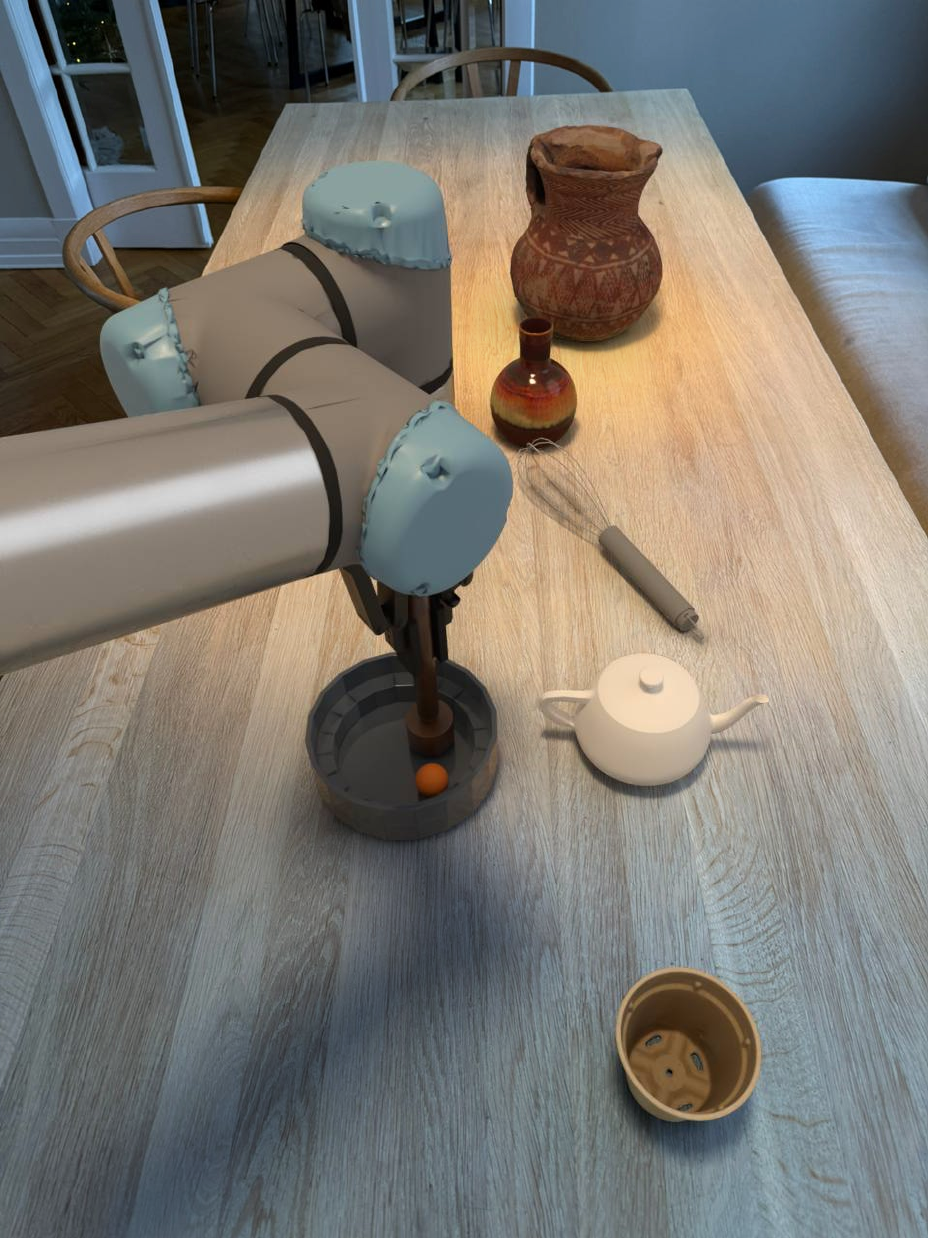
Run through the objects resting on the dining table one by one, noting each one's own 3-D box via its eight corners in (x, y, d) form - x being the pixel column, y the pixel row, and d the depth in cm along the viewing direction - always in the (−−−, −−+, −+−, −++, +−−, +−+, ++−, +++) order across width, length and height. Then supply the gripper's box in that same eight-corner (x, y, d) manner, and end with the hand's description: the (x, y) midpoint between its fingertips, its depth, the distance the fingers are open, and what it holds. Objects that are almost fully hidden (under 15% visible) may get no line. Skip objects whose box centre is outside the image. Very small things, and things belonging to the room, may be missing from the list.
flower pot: (761, 1076, 64) (791, 1039, 58) (683, 1182, 60) (705, 1156, 53) (657, 982, 69) (673, 938, 62) (577, 1075, 64) (586, 1039, 58)
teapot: (743, 695, 87) (766, 627, 79) (759, 806, 79) (787, 742, 71) (539, 684, 88) (543, 616, 81) (535, 792, 80) (538, 728, 73)
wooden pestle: (425, 764, 81) (407, 609, 65) (398, 732, 83) (374, 576, 67) (463, 739, 82) (455, 583, 67) (436, 709, 85) (421, 551, 69)
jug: (671, 300, 138) (697, 127, 119) (631, 370, 125) (654, 189, 107) (538, 276, 144) (544, 108, 126) (488, 340, 132) (486, 164, 113)
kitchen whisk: (678, 656, 90) (688, 615, 86) (506, 479, 110) (506, 437, 106) (725, 633, 92) (737, 591, 87) (547, 463, 112) (549, 421, 107)
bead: (429, 809, 78) (426, 792, 76) (409, 786, 80) (407, 768, 78) (456, 791, 80) (454, 773, 77) (436, 768, 81) (434, 751, 79)
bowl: (380, 881, 75) (373, 848, 70) (283, 748, 84) (271, 711, 80) (534, 775, 81) (536, 738, 77) (428, 662, 91) (424, 624, 86)
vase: (587, 419, 118) (597, 312, 106) (554, 466, 111) (560, 358, 100) (512, 399, 121) (513, 294, 110) (476, 444, 115) (473, 337, 103)
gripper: (328, 506, 52) (371, 734, 69) (525, 410, 57) (520, 643, 75) (267, 445, 56) (323, 674, 73) (457, 361, 61) (467, 593, 79)
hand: (422, 658), depth 74 cm, fingers closed on wooden pestle, 2 cm apart
